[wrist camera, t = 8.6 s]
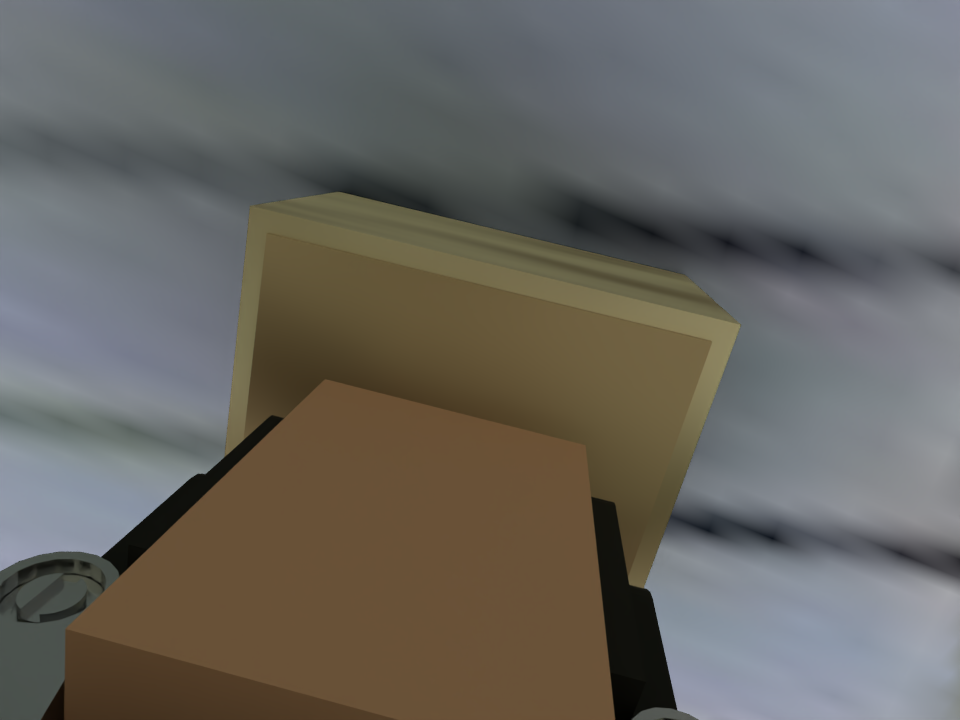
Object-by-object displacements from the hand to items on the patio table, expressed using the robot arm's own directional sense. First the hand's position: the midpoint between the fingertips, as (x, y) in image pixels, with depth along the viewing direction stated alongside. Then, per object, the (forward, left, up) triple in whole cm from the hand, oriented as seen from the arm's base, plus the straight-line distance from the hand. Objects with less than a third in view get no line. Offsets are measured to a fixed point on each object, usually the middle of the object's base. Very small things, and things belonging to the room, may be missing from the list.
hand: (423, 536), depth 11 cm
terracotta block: (0, 0, 0) cm, 0 cm away
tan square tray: (0, 0, -7) cm, 7 cm away
